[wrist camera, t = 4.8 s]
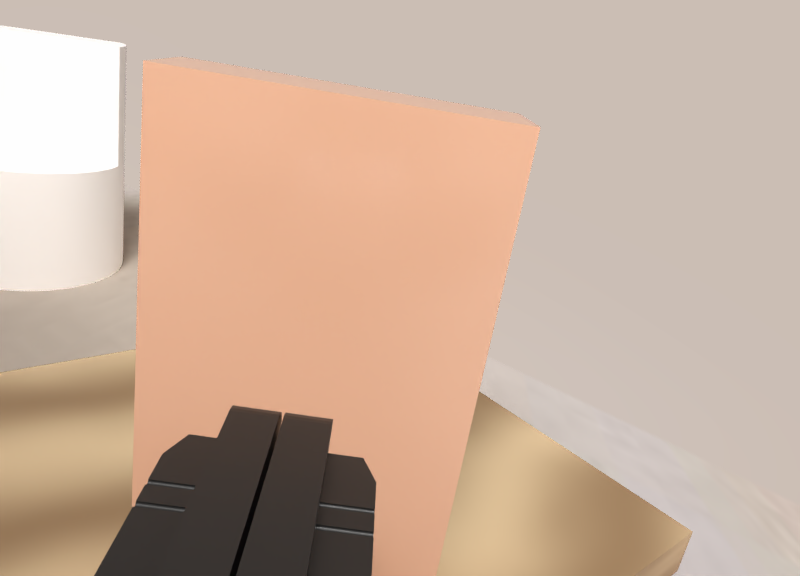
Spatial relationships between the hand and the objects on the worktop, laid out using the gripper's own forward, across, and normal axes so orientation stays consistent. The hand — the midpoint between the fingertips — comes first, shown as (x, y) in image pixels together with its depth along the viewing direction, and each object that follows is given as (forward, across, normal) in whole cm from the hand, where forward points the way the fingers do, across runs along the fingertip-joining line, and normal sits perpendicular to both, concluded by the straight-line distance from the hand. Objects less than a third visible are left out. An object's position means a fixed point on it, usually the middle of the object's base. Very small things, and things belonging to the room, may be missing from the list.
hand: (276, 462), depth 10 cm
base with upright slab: (+27, +17, +9) cm, 33 cm away
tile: (+5, 0, +7) cm, 8 cm away
